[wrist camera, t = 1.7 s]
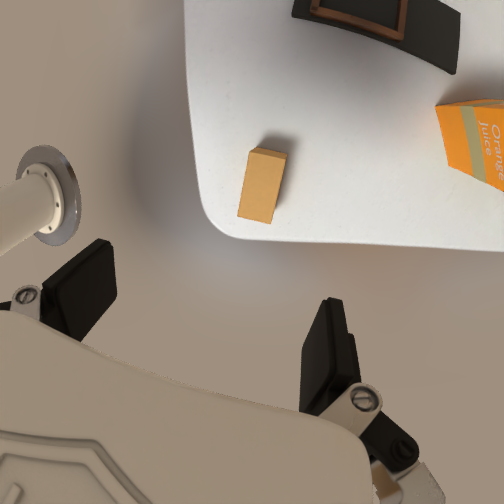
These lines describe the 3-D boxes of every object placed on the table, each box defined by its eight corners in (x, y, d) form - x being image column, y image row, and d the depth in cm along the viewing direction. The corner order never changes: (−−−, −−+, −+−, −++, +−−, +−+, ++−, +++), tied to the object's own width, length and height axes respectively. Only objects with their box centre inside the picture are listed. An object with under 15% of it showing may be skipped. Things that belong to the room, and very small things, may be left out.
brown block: (244, 203, 33) (236, 216, 29) (256, 146, 30) (249, 151, 26) (274, 210, 33) (270, 224, 29) (287, 153, 30) (285, 159, 26)
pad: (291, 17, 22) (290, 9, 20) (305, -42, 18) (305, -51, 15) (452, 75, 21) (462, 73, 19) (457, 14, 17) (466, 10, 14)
